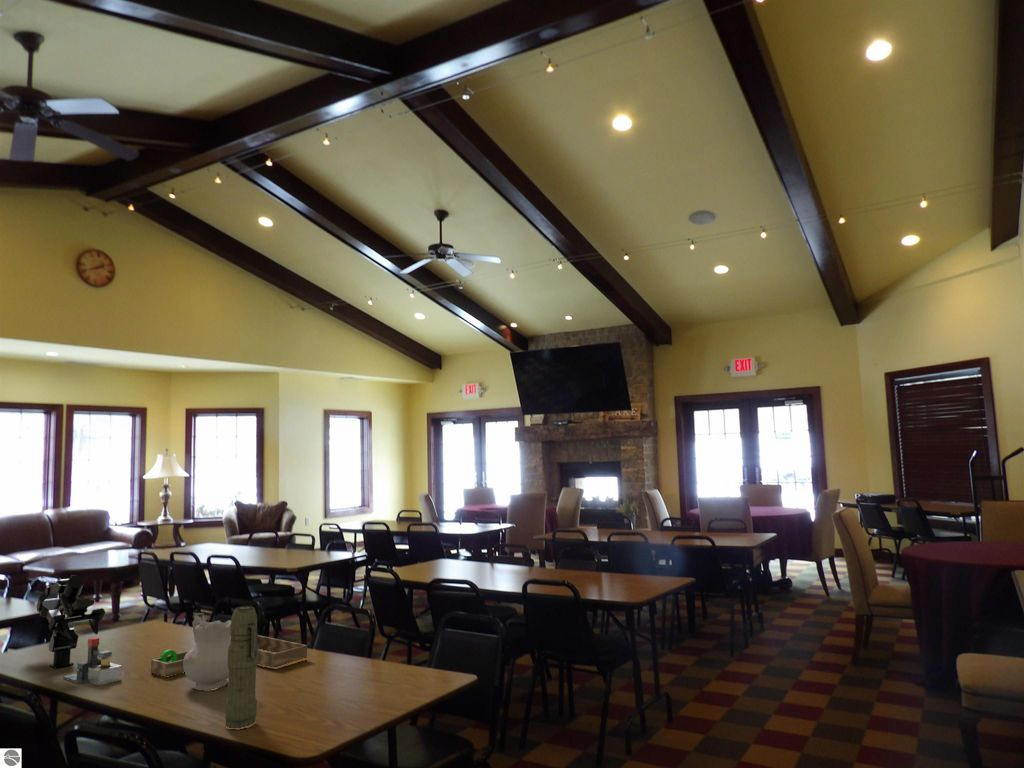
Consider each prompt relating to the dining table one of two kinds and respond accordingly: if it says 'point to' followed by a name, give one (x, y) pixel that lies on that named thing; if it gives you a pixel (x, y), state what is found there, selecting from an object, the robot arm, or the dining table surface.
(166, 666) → the part crate
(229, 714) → the thermos
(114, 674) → the housing
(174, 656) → the mechanical part
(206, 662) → the ceramic pitcher
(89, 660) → the lever
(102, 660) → the pin
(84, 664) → the press frame
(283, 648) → the brown open crate
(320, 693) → the dining table surface
